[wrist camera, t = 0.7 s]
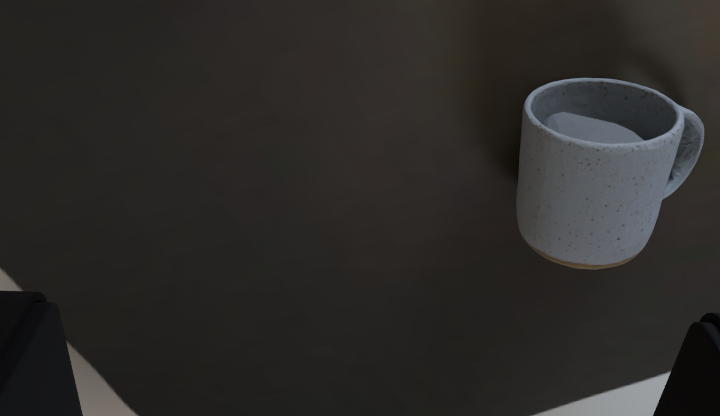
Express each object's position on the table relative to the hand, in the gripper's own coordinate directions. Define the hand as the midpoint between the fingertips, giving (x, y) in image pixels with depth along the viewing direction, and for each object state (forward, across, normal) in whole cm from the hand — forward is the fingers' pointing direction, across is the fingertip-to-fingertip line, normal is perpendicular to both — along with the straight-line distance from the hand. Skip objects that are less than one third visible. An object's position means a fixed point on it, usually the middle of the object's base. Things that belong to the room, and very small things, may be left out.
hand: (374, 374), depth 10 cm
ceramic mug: (+28, -14, +9) cm, 32 cm away
